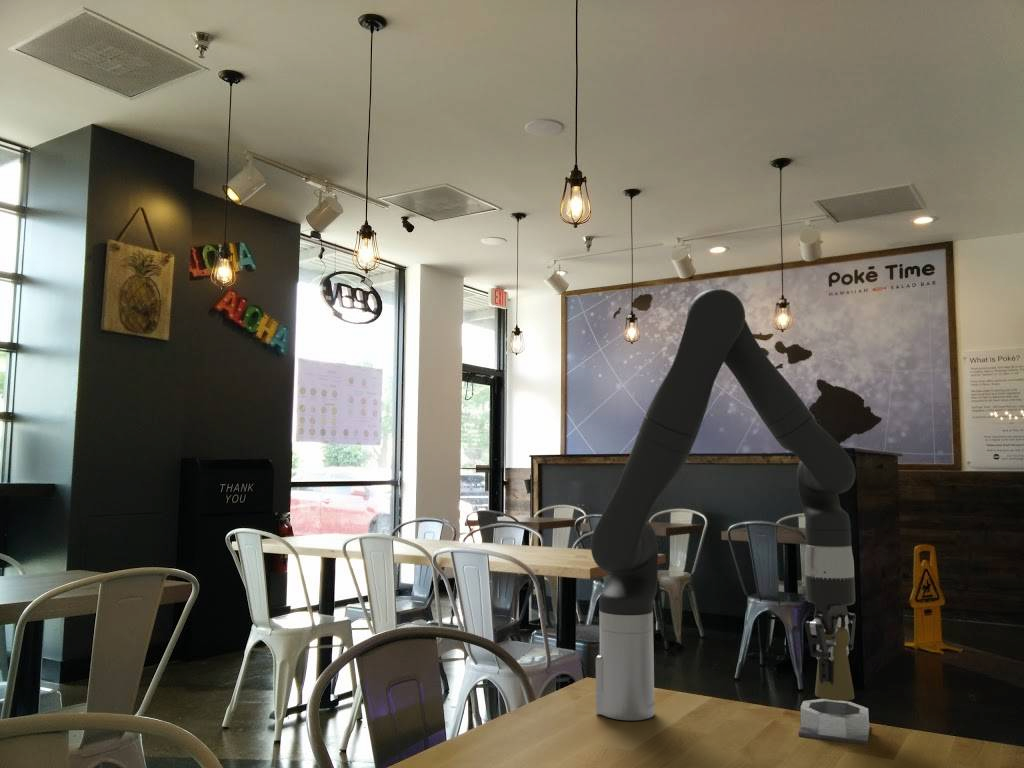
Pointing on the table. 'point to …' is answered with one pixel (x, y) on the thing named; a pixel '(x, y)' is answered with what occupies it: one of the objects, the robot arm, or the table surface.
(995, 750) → the table surface
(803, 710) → the duct collar
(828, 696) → the cork
